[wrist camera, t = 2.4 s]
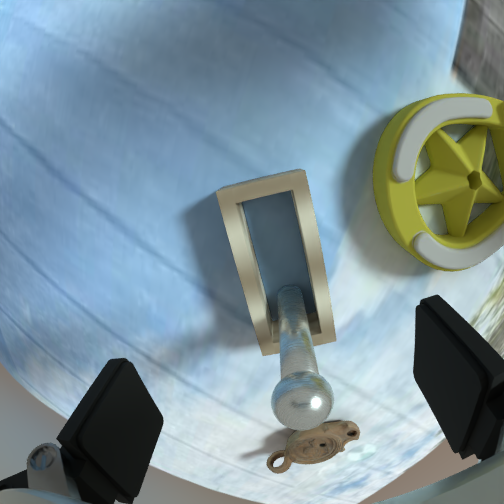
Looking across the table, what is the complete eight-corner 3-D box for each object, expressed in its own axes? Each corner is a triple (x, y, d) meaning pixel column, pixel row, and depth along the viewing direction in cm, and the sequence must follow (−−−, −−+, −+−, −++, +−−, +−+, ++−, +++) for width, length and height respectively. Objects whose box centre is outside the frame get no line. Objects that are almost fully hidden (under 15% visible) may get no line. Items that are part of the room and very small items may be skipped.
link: (223, 186, 26) (215, 191, 22) (299, 168, 25) (305, 170, 22) (263, 332, 30) (262, 356, 27) (329, 319, 30) (336, 341, 26)
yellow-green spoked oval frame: (527, 215, 25) (553, 225, 20) (397, 283, 29) (417, 305, 24) (495, 81, 21) (523, 76, 16) (345, 124, 24) (361, 117, 20)
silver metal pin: (267, 283, 29) (264, 407, 14) (304, 275, 28) (335, 394, 13) (275, 315, 30) (277, 446, 15) (311, 308, 29) (340, 435, 14)
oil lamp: (349, 402, 33) (356, 430, 29) (362, 431, 35) (369, 457, 30) (255, 432, 36) (254, 461, 31) (278, 458, 38) (278, 484, 33)
